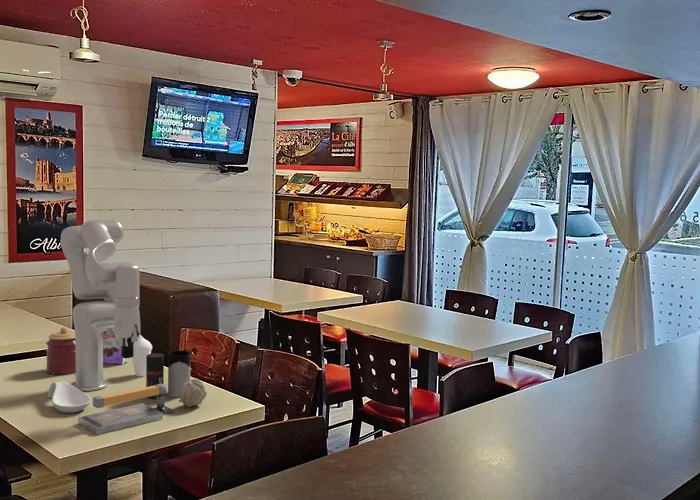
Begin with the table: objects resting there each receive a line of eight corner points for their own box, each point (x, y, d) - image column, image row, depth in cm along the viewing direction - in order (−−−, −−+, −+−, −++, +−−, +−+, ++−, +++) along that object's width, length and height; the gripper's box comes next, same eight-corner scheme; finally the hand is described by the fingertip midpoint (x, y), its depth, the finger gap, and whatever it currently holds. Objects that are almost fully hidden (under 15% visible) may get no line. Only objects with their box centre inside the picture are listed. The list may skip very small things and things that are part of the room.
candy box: (91, 362, 285) (91, 324, 284) (99, 359, 291) (98, 321, 290) (122, 365, 283) (122, 326, 282) (129, 361, 289) (129, 323, 287)
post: (147, 411, 226) (147, 393, 226) (163, 407, 231) (164, 389, 230) (157, 416, 222) (157, 397, 222) (173, 412, 226) (173, 394, 226)
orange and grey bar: (92, 405, 211) (92, 397, 211) (162, 390, 228) (162, 382, 228) (97, 408, 208) (97, 399, 208) (168, 393, 226) (168, 385, 226)
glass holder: (166, 397, 242) (166, 356, 240) (168, 386, 256) (168, 346, 254) (191, 396, 244) (191, 355, 242) (192, 385, 257) (192, 346, 256)
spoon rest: (96, 412, 225) (96, 390, 225) (59, 419, 217) (59, 397, 217) (70, 394, 243) (70, 375, 242) (35, 400, 235) (35, 380, 234)
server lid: (78, 423, 213) (78, 416, 213) (142, 408, 229) (142, 402, 228) (97, 434, 204) (97, 427, 204) (162, 418, 220) (162, 411, 219)
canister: (73, 375, 266) (73, 331, 264) (40, 374, 266) (40, 330, 264) (86, 367, 279) (86, 324, 277) (55, 366, 279) (54, 323, 277)
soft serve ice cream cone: (156, 374, 270) (156, 335, 269) (140, 379, 263) (140, 338, 262) (142, 371, 275) (142, 332, 273) (125, 375, 268) (125, 335, 266)
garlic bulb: (206, 402, 238) (206, 374, 237) (206, 410, 230) (207, 381, 229) (178, 403, 236) (178, 375, 235) (177, 411, 228) (178, 381, 227)
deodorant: (158, 399, 239) (158, 357, 238) (143, 398, 240) (143, 356, 239) (166, 394, 245) (166, 354, 243) (151, 393, 246) (151, 352, 245)
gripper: (105, 300, 225) (106, 355, 226) (127, 306, 215) (128, 363, 216) (127, 298, 230) (127, 352, 232) (149, 303, 220) (149, 359, 221)
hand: (127, 357), depth 224 cm, fingers closed
